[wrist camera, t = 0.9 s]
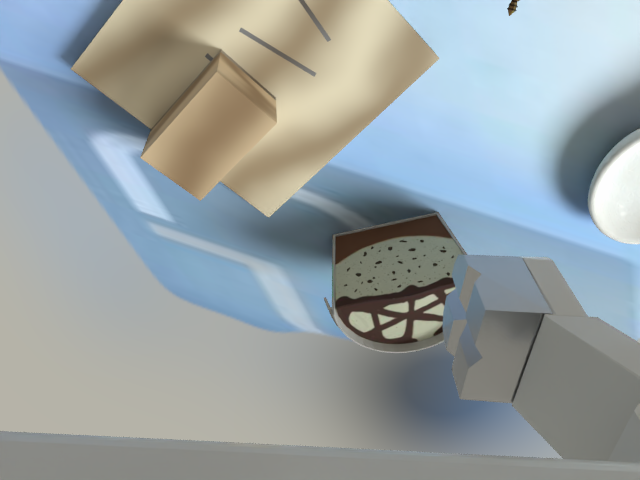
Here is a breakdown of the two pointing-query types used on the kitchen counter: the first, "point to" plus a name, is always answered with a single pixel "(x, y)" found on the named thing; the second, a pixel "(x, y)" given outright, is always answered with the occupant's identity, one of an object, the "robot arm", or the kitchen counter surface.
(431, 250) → the food container
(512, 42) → the kitchen counter surface
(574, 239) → the kitchen counter surface
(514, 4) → the game die
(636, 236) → the spoon rest
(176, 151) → the block
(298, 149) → the board
